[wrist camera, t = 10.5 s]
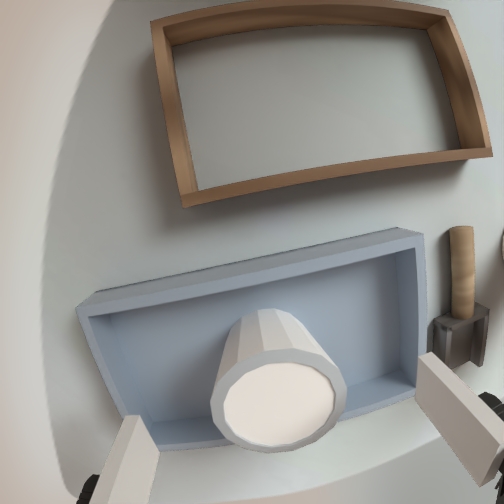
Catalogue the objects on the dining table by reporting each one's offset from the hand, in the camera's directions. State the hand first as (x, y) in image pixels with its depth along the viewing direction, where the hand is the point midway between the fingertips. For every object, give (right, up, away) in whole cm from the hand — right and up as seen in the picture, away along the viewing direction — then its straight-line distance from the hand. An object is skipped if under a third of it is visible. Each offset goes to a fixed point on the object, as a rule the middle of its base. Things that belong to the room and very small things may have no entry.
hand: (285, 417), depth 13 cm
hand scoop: (+15, +3, +9) cm, 18 cm away
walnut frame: (+4, +18, +6) cm, 19 cm away
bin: (-1, +1, +9) cm, 9 cm away
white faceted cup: (0, +1, +8) cm, 9 cm away
